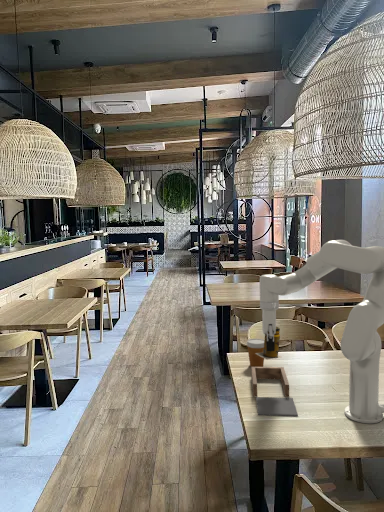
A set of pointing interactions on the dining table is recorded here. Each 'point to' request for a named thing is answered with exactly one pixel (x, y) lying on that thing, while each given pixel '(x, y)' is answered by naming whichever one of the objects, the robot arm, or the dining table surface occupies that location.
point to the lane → (269, 377)
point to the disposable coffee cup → (253, 348)
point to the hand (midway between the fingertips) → (269, 347)
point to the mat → (276, 406)
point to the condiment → (274, 354)
